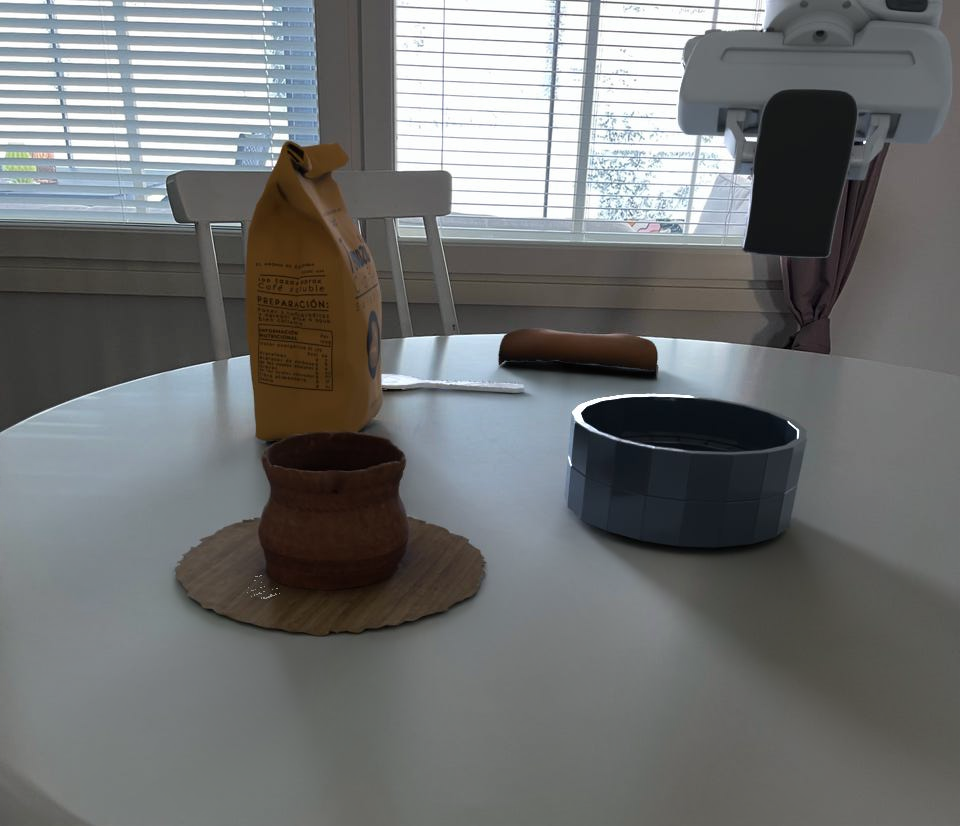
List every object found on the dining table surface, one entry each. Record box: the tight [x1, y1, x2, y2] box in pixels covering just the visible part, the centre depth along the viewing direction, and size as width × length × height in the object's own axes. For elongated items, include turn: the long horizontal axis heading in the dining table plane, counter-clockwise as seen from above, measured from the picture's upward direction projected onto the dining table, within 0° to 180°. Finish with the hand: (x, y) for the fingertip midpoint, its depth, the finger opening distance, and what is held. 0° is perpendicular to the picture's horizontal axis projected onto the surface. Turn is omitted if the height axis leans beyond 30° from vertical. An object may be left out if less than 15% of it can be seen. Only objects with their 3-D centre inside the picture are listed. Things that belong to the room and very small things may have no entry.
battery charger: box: [741, 88, 858, 259], centre depth 72 cm, size 7×4×11 cm, turn 73°
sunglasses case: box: [497, 327, 660, 379], centre depth 107 cm, size 18×7×7 cm
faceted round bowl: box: [564, 393, 808, 548], centre depth 63 cm, size 15×15×6 cm
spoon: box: [381, 373, 525, 394], centre depth 96 cm, size 5×18×1 cm, turn 87°
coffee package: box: [245, 140, 384, 442], centre depth 75 cm, size 10×12×22 cm
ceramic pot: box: [174, 431, 488, 637], centre depth 53 cm, size 18×18×7 cm
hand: (799, 171), depth 71 cm, fingers closed on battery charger, 7 cm apart
